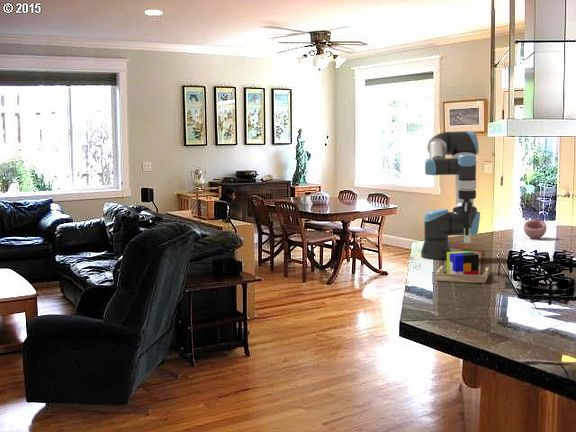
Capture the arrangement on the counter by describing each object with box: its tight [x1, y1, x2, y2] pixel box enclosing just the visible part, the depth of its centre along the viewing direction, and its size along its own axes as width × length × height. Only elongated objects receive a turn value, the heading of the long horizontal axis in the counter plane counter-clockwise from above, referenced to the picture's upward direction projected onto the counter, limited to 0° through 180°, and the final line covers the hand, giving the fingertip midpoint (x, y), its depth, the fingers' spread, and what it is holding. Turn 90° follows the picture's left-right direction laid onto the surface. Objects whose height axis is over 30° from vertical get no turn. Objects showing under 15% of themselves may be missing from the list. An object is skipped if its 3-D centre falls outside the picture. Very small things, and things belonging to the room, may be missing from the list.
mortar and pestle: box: [523, 218, 547, 240], centre depth 375 cm, size 12×12×12 cm
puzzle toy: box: [446, 250, 480, 275], centre depth 279 cm, size 10×10×10 cm
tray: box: [434, 265, 490, 284], centre depth 277 cm, size 18×20×3 cm
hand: (467, 242), depth 294 cm, fingers closed
